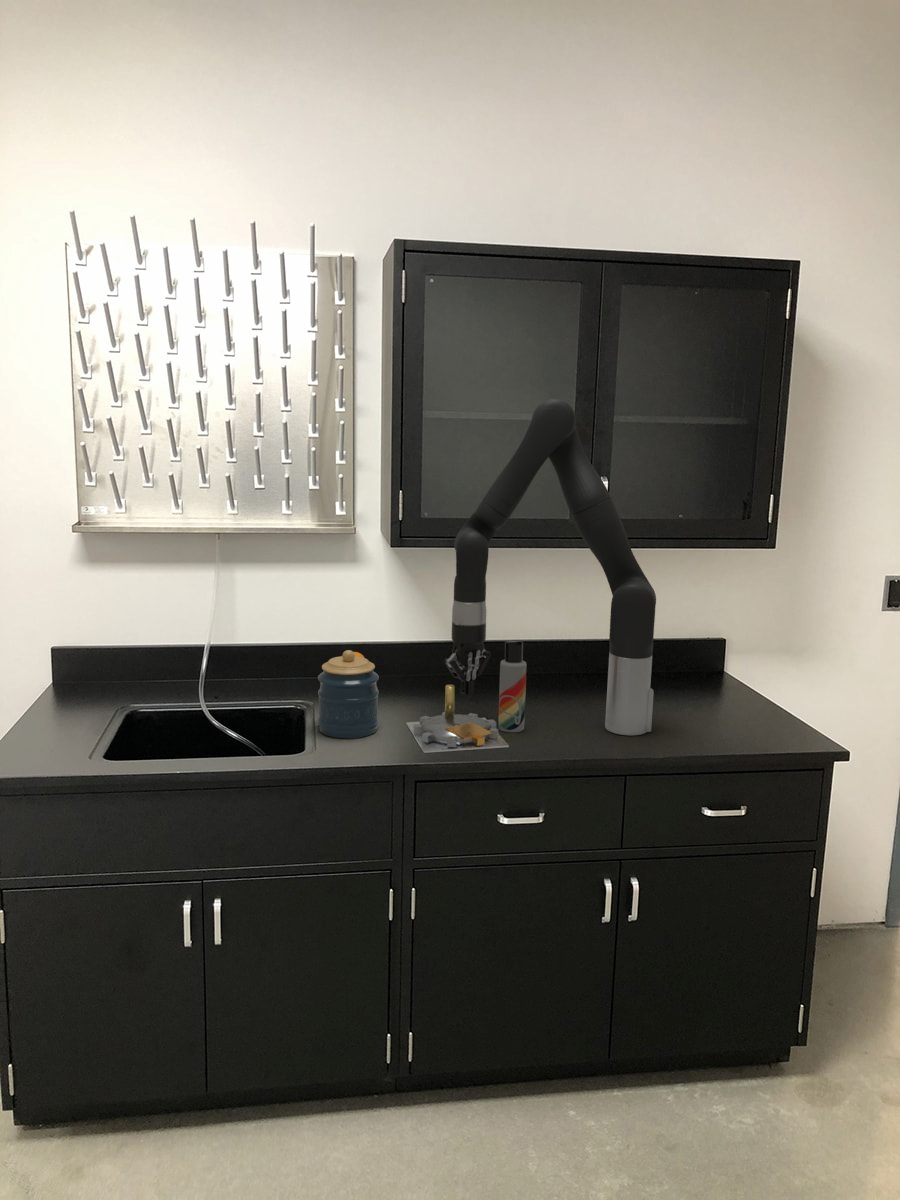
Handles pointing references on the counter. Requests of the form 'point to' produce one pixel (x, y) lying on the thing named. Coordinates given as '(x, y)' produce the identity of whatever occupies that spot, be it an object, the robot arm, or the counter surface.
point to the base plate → (442, 747)
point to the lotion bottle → (512, 688)
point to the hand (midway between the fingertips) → (466, 695)
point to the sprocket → (455, 726)
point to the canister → (348, 697)
